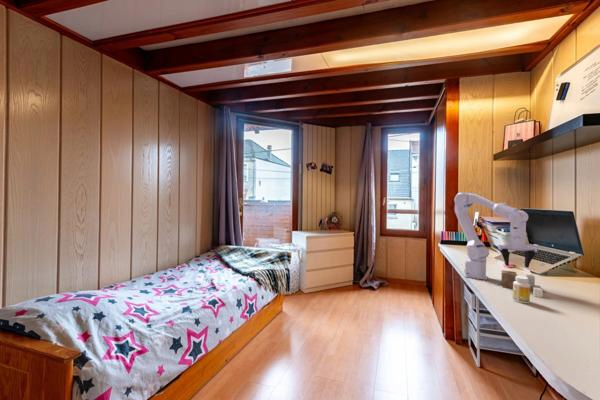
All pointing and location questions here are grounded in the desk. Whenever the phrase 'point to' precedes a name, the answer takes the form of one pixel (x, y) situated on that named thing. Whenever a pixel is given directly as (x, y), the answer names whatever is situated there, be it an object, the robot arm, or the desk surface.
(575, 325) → the desk surface
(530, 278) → the post
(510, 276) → the brown rectangular block
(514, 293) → the supplement bottle
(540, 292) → the off-white cube
